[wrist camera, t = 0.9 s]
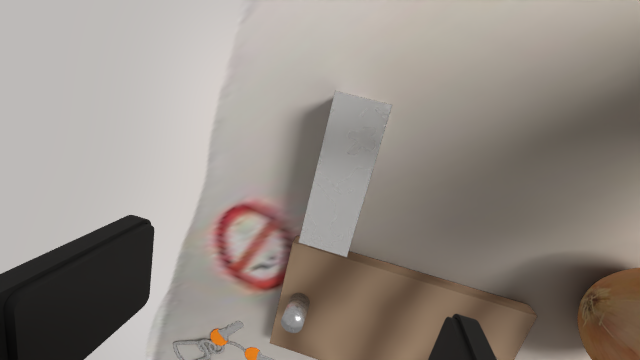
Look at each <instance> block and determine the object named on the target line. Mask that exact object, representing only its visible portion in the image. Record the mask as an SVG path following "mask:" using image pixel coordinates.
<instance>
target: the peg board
mask: <svg viewBox="0 0 640 360" xmlns="http://www.w3.org/2000/svg"><path fill="white" fill-rule="evenodd" d="M299 239H300V236H296V238H295V239H294V241H293V243H292V248H291V252H290V256H289V261H288V265H287V269H286V274H285V278H284V282H283V287H282V291H281V295H280V300H279V304H278V308H277V313H276V317H275V321H274V326H273V330H272V335H271V339H270V343H271V344H274V345H277V346H280V347H283V348H286V349H289V350H292V351H295V352H298V353H301V354H303V355H306V356H309V357H312V358H315V359H318V360H428V358H429V356H430V354H431V351H432V349H433V347H434V344H435V342H436V339H437V337H438V335H439V332H440V330H441V328H442V325H443V323H444V321H445V319H446V318H447V317H452V316H453V315H454V314H460V315H463V316H466V317H469V318H473V319H476V320H477V321H478V322H479V324H480V326H481V328H482V330H483V332H484V334H485V336H486V338H487V340H488V342H489V344H490V346H491V349H492V351H493V353H494V355H495V357H496V359H497V360H514V358H515V357H516V355H517V353H518V351H519V349H520V347H521V345H522V344H523V342H524V340H525V338H526V336H527V334H528V332H529V331H530V329H531V327H532V325H533V323H534V321H535V319H536V318H537V315H536V314H535V313H534V311H533V310H532V309H531V307H530V306H529V305H528V304H524V303H521V302H518V301H514V300H511V299H507V298H504V297H501V296H497V295H494V294H491V293H487V292H484V291H481V290H477V289H474V288H471V287H467V286H464V285H461V284H457V283H454V282H450V281H447V280H444V279H440V278H437V277H434V276H430V275H427V274H424V273H420V272H417V271H414V270H410V269H407V268H404V267H400V266H397V265H393V264H390V263H387V262H383V261H380V260H377V259H373V258H370V257H367V256H363V255H360V254H357V253H353V252H350V251H348V255H347V257H345V256H342V255H338V254H335V253H332V252H328V251H325V250H322V249H319V248H315V247H312V246H309V245H306V244H302V243H299Z"/></svg>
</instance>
